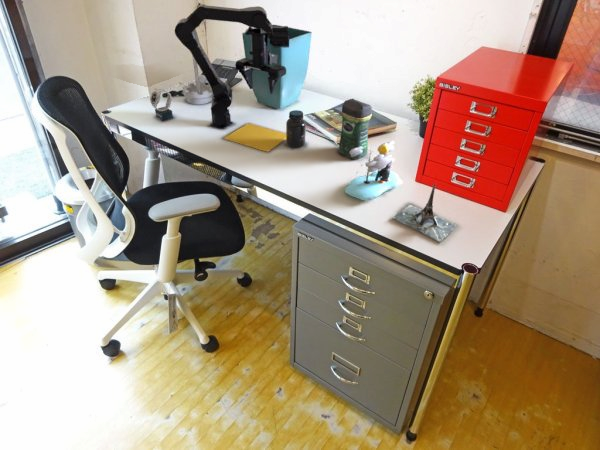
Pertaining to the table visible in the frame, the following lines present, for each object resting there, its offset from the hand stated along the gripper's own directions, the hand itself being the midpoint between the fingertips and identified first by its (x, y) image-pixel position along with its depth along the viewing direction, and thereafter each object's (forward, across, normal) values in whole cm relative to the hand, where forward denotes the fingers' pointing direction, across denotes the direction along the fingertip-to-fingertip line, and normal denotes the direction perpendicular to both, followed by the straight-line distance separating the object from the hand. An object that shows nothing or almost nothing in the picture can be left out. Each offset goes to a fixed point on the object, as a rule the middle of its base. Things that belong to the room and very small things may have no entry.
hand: (261, 91), depth 163 cm
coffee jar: (+13, -40, +3) cm, 42 cm away
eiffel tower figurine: (+13, -74, +29) cm, 81 cm away
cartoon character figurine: (+13, -55, +20) cm, 60 cm away
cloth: (+13, -5, +10) cm, 17 cm away
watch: (+13, +36, +16) cm, 42 cm away
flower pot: (+13, +7, -22) cm, 27 cm away
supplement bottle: (+13, -20, +8) cm, 25 cm away
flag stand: (+13, +37, -6) cm, 40 cm away
